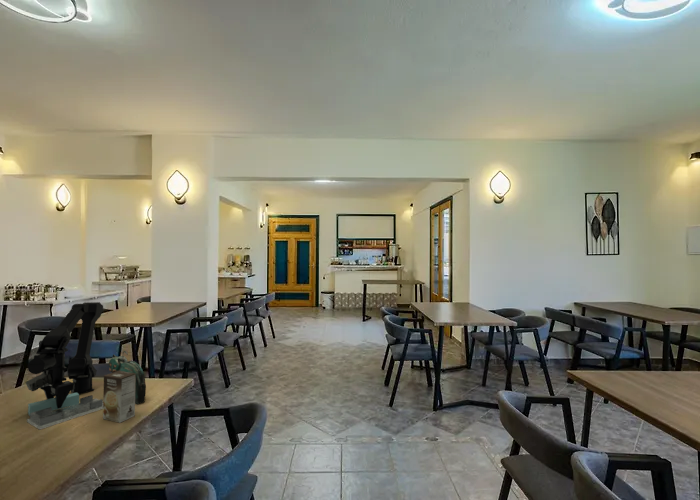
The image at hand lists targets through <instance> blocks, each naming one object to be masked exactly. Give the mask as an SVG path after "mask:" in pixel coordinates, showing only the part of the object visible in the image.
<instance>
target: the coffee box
mask: <svg viewBox="0 0 700 500" xmlns="http://www.w3.org/2000/svg"><path fill="white" fill-rule="evenodd" d="M135 382H136V373H130V372H125V371H116V372H113V373H112V372H110V373H107V374H105V375H103V395H102V396H103V397H102V398H103V399H102V400H103V409H102V419H103V420H105V421H106V420H107V421H111V422H115V423H119V424H120V423H122V422H125V421H127V420H129V419H131V418H132V417H135V415H136V414H135V413H136V412H135V411H136V404H135Z"/></svg>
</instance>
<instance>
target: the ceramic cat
mask: <svg viewBox="0 0 700 500" xmlns="http://www.w3.org/2000/svg"><path fill="white" fill-rule="evenodd" d="M124 353H125V354H126V355H127V356H128V352H127V350H124V351H123V352H122V354H124ZM108 371H109V372H110V373H113V372H116V371H125V372H130V373H136V382H135V405H141V404H143V403H145V401H146V391H147V385H146V378H145V377H146V376H145V372H144V371H143V368H142V367H141V365H140V364H139V363H137V362H136V361H135V360H128V359H127V357H126V356H124V355H120V356H116V354H114V353H113V354H112V357H111V358H110V360H109V361H108Z"/></svg>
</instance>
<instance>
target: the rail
mask: <svg viewBox="0 0 700 500" xmlns="http://www.w3.org/2000/svg"><path fill="white" fill-rule="evenodd" d="M79 403H80V394H78V393H72V392H71V393H69V394H68V396H67V397H66V399H65V401H64V403H63V405H62V406H61V408H57V405H56V399H55V397H54V398H51V399H47V398H46V399H44V400H43V399H42V400H40V401H39V400H38V401H35V402H30V403H28V404H27V405H28V406H27V414H28V416H29V417H30V413H32V412H36V411H39V410H43V409H46V408H49V407H51V408H52V411H56V410H59V409H62V408H66V407H69V406H72V405H76V404H79Z"/></svg>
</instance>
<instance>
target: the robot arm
mask: <svg viewBox="0 0 700 500" xmlns="http://www.w3.org/2000/svg"><path fill="white" fill-rule="evenodd" d="M103 311H104V305H103V304H102V303H101V302H100V301H99V302H98V301H97V302H95V301H94V302H93V301H92V302H89V301H88V302H86V301H85V302H83V303H75V304H73V305H71V309H70V310H69V311H68V313H67V315H65V317H64V318H63V320H62V321H61V322H60V323H59V325H58V326H56V328H54V329H53V328H52V329H51V330H49V332H48V333H47V334H46V335H45V336H44V337H43V338H42V340H41V343H40V344H39V347H38V348H37V350H36V354H35V355H33V359H31V360H30V361H29V362H28V364H27V370H28V371H29V373H31V374H32V375H37V376H34V377H32V378H31V379H29V380H27V381H26V382H25V385H26V387H27V389H28V390H29V391H31V392H35V391H38V389H40V390H42V391H43V393H44V395H45V398H46V400H47V399H51V398H55V399H56V405H57V408H61V406H62V405H63V403H64V401H65V399H66V397H67V396H68V394H72V393H78V394H79V395H83V394H86V393H89V392H92V391H94V390H95V388H93V378H95V377H96V375H97V369H96V368H95V366H94V365H93V362H94V361H93V359H92V356H91V355H90V353H91V349H92V343H93V337H94V332H95V326H96V322H97V321H98V320H99V319H100V318H101V316H102V313H103ZM80 321H81V326H80V332H79V336H78V342H77V347H76V352H75V355H74V356H73V357H72V358H70V359H69V360H68V364H67V366H65V361H66V360H65V359H66V355H65V353H66V352H68V351H69V349H68V348H67V346H68V344H69V343H70V340H71V338H72V337H71V333H72V331H73V330H74V329H75V327H76V326H77V324H78V323H79V322H80ZM65 371H66V373H67V376H68V377H65ZM38 374H39V375H38ZM67 378H68V379H69V380H72V381H69V380H67ZM61 409H62V408H61Z"/></svg>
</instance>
